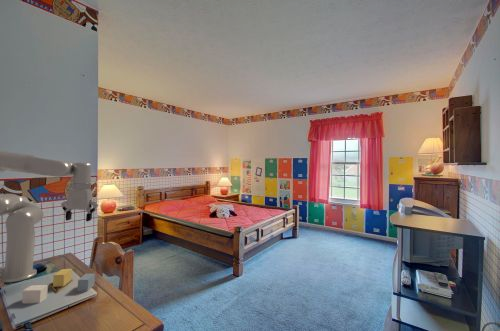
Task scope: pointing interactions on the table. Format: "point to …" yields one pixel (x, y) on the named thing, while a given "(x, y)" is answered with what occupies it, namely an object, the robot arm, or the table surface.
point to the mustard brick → (62, 277)
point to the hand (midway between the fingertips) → (78, 220)
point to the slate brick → (86, 282)
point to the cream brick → (35, 294)
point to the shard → (59, 287)
